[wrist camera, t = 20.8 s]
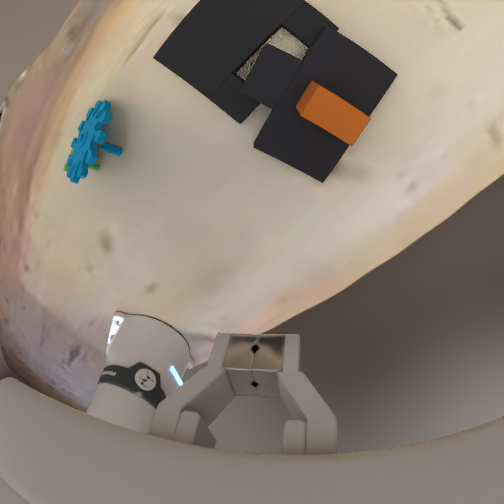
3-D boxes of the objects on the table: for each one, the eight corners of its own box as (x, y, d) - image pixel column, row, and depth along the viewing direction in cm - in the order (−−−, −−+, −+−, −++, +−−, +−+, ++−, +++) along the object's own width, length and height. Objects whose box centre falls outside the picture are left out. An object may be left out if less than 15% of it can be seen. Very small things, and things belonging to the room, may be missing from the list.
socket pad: (242, 122, 27) (239, 124, 26) (159, 58, 24) (152, 57, 22) (337, 31, 20) (339, 28, 19) (244, -35, 17) (241, -40, 15)
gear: (107, 81, 24) (94, 150, 22) (146, 100, 29) (143, 167, 27) (66, 134, 30) (55, 199, 27) (100, 145, 34) (95, 207, 32)
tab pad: (320, 177, 29) (330, 202, 25) (221, 127, 26) (211, 145, 22) (391, 72, 21) (417, 80, 17) (288, 8, 18) (294, -3, 14)
